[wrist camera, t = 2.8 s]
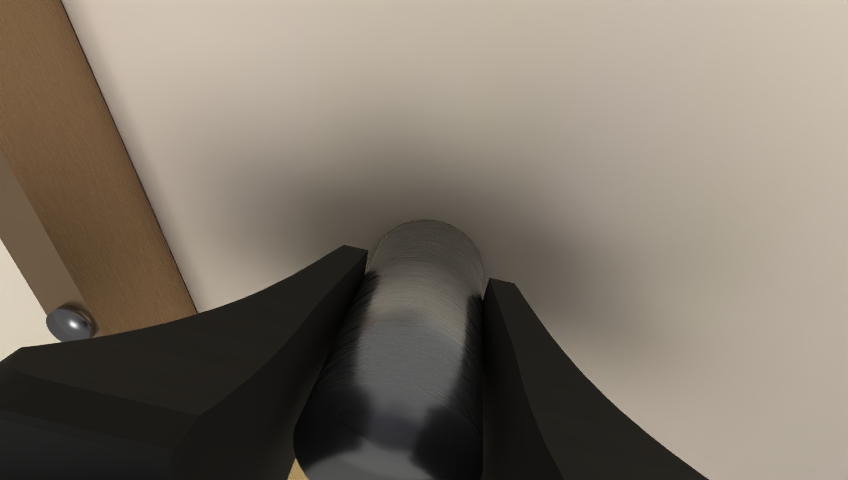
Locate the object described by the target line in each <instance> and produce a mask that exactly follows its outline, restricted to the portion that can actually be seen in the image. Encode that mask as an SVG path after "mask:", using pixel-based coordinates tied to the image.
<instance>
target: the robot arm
mask: <svg viewBox="0 0 848 480" xmlns="http://www.w3.org/2000/svg"><path fill="white" fill-rule="evenodd" d="M367 255H368V250H364V249H359V248H355V247H351V246H346V245H343V246H341V247H340V248H338V249H336V250H335V251H333V252H331V253H330V254H328V255H326V256H325V257H323V258H321V259H320V260H318V261H316V262H315V263H313V264H311V265H310V266H308V267H306V268H304V269H303V270H301V271H299V272H297V273H296V274H294V275H292V276H290V277H288V278H286V279H284V280H282V281H280V282H278V283H276V284H274V285H272V286H270V287H268V288H266V289H264V290H262V291H259V292H257V293H255V294H252V295H250V296H248V297H245V298H243V299H240V300H237V301H235V302H232V303H229V304H227V305H224V306H221V307H218V308H215V309H212V310H209V311H205V312H202V313H199V314H195V315H192V316H188V317H185V318H182V319H178V320H175V321H171V322H167V323H163V324H159V325H155V326H150V327H146V328H142V329H137V330H132V331H127V332H122V333H117V334H112V335H106V336H101V337H95V338H88V339H81V340H74V341H67V342H60V343H53V344H46V345H39V346H30V347H21V348H20V349H18V350H17V351H15V352H14V353H12V354H11V355H9V356H8V357H6V358H5V359H4V360H2V361H1V362H0V480H287V479H288V477H289V474H290V471H291V469H292V466H293V464H294V461H295V458H296V456H295V453H294V448H293V433H294V429H295V425H296V423H297V421H298V418H299V416H300V414H301V412H302V410H303V408H304V405H305V403H306V401H307V399H308V397H309V395H310V392H311V390H312V388H313V386H314V384H315V382H316V379H317V377H318V375H319V373H320V371H321V369H322V367H323V364H324V362H325V360H326V358H327V356H328V354H329V351H330V349H331V347H332V345H333V343H334V341H335V338H336V336H337V334H338V332H339V330H340V328H341V325H342V323H343V321H344V319H345V317H346V315H347V312H348V310H349V308H350V306H351V304H352V302H353V300H354V297H355V295H356V293H357V291H358V289H359V287H360V284H361V282H362V280H363V278H364V274H365V268H366V262H367ZM482 328H483V471H482V476H481V479H480V480H709V479H707V478H706V477H704V476H703V475H702V474H700V473H699V472H697V471H696V470H695V469H693V468H692V467H691V466H689V465H688V464H687V463H685V462H684V461H682V460H681V459H680V458H678V457H677V456H676V455H674V454H673V453H672V452H670V451H669V450H668V449H666V448H665V447H664V446H663V445H661V444H660V443H659V442H657V441H656V440H655V439H654V438H652V437H651V436H650V435H649V434H647V433H646V432H645V431H644V430H643V429H642V428H640V427H639V426H638V425H637V424H636V423H634V422H633V421H632V420H631V419H630V418H629V417H627V416H626V415H625V414H624V413H623V412H622V411H621V410H619V409H618V408H617V407H616V406H615V405H614V404H613V403H612V402H611V401H610V400H609V399H608V398H606V397H605V396H604V395H603V394H602V393H601V391H600V390H599V389H598V388H597V387H596V386H595V385H594V384H593V383H592V382H591V381H590V380H589V379H588V378H587V377H586V376H585V375H584V374H583V373H582V372H581V371H580V370H579V369H578V368H577V367H576V365H575V364H574V363H573V362H572V361H571V360H570V358H569V357H568V356H567V355H566V354H565V352H564V351H563V350H562V349H561V348H560V346H559V345H558V344H557V343H556V341H555V340H554V339H553V338H552V336H551V335H550V334H549V332H548V331H547V330H546V328H545V327H544V326H543V324H542V323H541V321H540V320H539V319H538V317H537V316H536V314H535V313H534V311H533V310H532V309H531V307H530V306H529V304H528V303H527V301H526V300H525V298H524V297H523V295H522V294H521V292H520V291H519V289H518V288H517V287H516V285H515V284H514V283H510V282H505V281H501V280H496V279H492V278H489V282H488V285H487V288H486V291H485V295H484V298H483V301H482Z"/></svg>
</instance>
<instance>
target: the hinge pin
mask: <svg viewBox="0 0 848 480" xmlns="http://www.w3.org/2000/svg"><path fill="white" fill-rule="evenodd" d="M293 448H294V453H295V456H296V460H297V462H298V464H299V466H300V468H301V469H302V471H303V472H304V474H305V475H306V477H307V478H308V479H309V480H480V479H481V476H482V471H483V328H482V263H481V258H480V256H479V253H478V251H477V249H476V247H475V246H474V244H473V243H472V241H471V240H470V239H469V238H468V237H467V236H466V235H465V234H464V233H462V232H461V231H460V230H458V229H456V228H455V227H453V226H451V225H449V224H446V223H443V222H439V221H434V220H416V221H410V222H407V223H404V224H402V225H399V226H397V227H396V228H394V229H393V230H391V231H390V232H389V233H388V234H387V235H386V236H385V237H384V238H383V239H382V241H381V242H380V244H379V246H378V248H377V250H376V252H375V254H374V256H373V258H372V261H371V263H370V265H369V267H368V269H367V271H366V274H365V276H364V278H363V280H362V282H361V284H360V287H359V289H358V291H357V293H356V295H355V297H354V300H353V302H352V304H351V306H350V308H349V310H348V312H347V315H346V317H345V319H344V321H343V323H342V325H341V328H340V330H339V332H338V334H337V336H336V338H335V341H334V343H333V345H332V347H331V349H330V351H329V354H328V356H327V358H326V360H325V362H324V364H323V367H322V369H321V371H320V373H319V375H318V377H317V379H316V382H315V384H314V386H313V388H312V390H311V392H310V395H309V397H308V399H307V401H306V403H305V405H304V408H303V410H302V412H301V414H300V416H299V418H298V421H297V423H296V425H295V429H294V433H293Z"/></svg>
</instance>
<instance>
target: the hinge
mask: <svg viewBox="0 0 848 480" xmlns="http://www.w3.org/2000/svg"><path fill="white" fill-rule="evenodd" d="M0 239H1V240H2V242H3V244H4V245H5V247H6V248H7V250H8V252H9V253H10V255H11V257H12V258H13V260H14V262H15V263H16V265H17V267H18V268H19V270H20V272H21V273H22V275H23V277H24V278H25V280H26V282H27V283H28V285H29V287H30V288H31V290H32V291H33V293H34V295H35V296H36V298H37V300H38V301H39V303H40V305H41V306H42V308H43V310H44V311H45V313H46V315H47V318H46V324H47V327H48V329H49V330H50V332H51V333H52V334H53V335H54V336H55V337H56V338H57V339H58V340H60V341H61V342H67V341H74V340H81V339H88V338H95V337H101V336H106V335H112V334H117V333H122V332H127V331H132V330H137V329H142V328H146V327H150V326H155V325H159V324H163V323H167V322H171V321H175V320H178V319H182V318H185V317H188V316H192V315H195V314H197V312H196V310H195V307H194V305H193V303H192V300H191V298H190V296H189V294H188V291H187V289H186V287H185V284H184V282H183V280H182V278H181V275H180V273H179V271H178V268H177V266H176V264H175V262H174V259H173V257H172V255H171V253H170V250H169V248H168V246H167V243H166V241H165V239H164V237H163V234H162V232H161V230H160V227H159V225H158V223H157V221H156V218H155V216H154V214H153V211H152V209H151V207H150V205H149V202H148V200H147V198H146V195H145V193H144V191H143V189H142V186H141V184H140V182H139V179H138V177H137V175H136V173H135V170H134V168H133V166H132V163H131V161H130V159H129V157H128V154H127V152H126V150H125V147H124V145H123V143H122V141H121V138H120V136H119V134H118V131H117V129H116V127H115V125H114V122H113V120H112V118H111V115H110V113H109V111H108V109H107V106H106V104H105V102H104V99H103V97H102V95H101V93H100V90H99V88H98V86H97V83H96V81H95V79H94V77H93V74H92V72H91V70H90V67H89V65H88V63H87V61H86V58H85V56H84V54H83V52H82V49H81V47H80V45H79V42H78V40H77V38H76V36H75V33H74V31H73V29H72V26H71V24H70V22H69V20H68V17H67V15H66V13H65V10H64V8H63V6H62V4H61V1H60V0H0ZM287 480H309V479H308V478H307V477H306V475H305V474H304V472H303V471H302V469H301V468H300V466H299V464H298V462H297V460H296V458H295V461H294V464H293V466H292V469H291V471H290V474H289V477H288V479H287Z"/></svg>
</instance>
